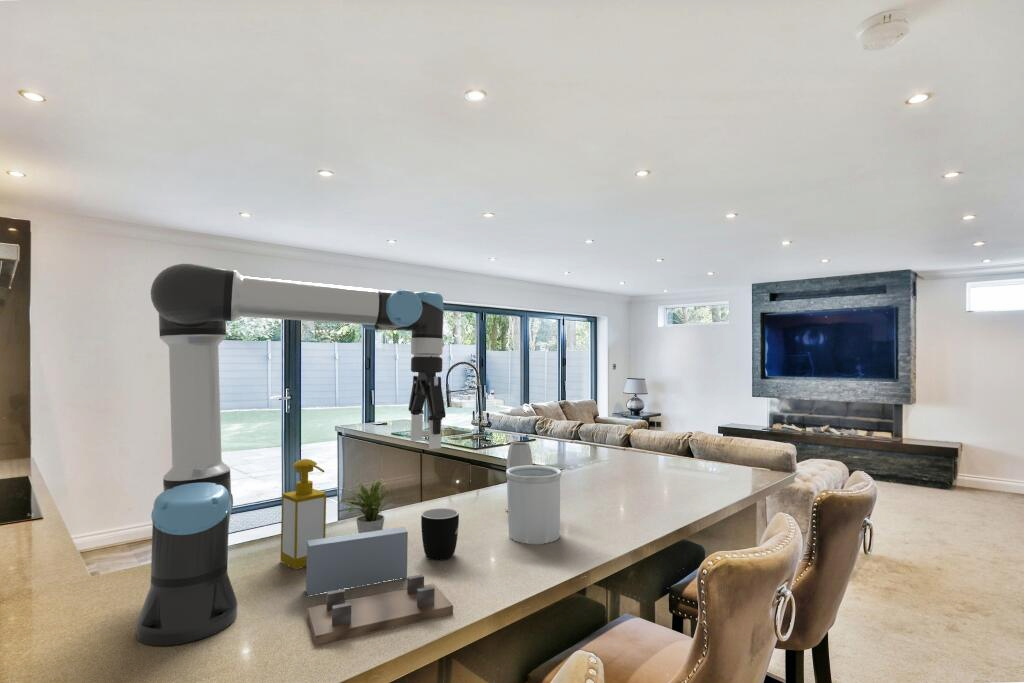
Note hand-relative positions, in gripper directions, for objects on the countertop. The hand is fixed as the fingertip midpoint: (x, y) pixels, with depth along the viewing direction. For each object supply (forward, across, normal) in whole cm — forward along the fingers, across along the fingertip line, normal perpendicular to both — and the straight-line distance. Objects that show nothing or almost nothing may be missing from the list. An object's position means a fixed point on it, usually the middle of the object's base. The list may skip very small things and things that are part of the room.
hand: (425, 444), depth 127 cm
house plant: (+27, +18, +9) cm, 33 cm away
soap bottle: (+27, +8, +25) cm, 38 cm away
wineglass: (+27, +24, -39) cm, 53 cm away
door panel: (+27, -8, +17) cm, 33 cm away
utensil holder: (+27, +1, -31) cm, 41 cm away
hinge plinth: (+27, -24, +16) cm, 40 cm away
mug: (+27, +1, -4) cm, 27 cm away
